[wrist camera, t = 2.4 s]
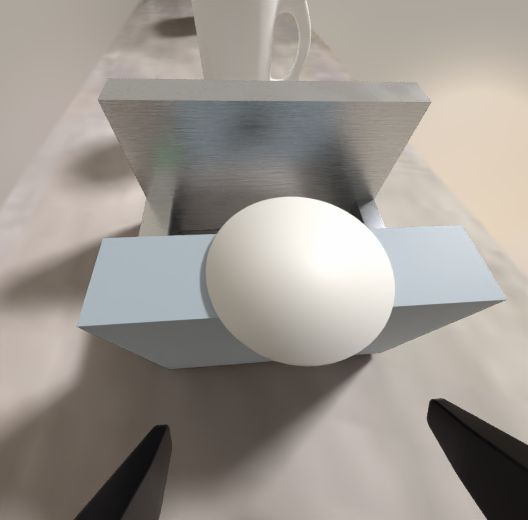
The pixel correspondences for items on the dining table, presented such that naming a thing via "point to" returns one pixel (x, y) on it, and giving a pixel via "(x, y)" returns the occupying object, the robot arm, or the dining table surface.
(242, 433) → the dining table surface
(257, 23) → the mug
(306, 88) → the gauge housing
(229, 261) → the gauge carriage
